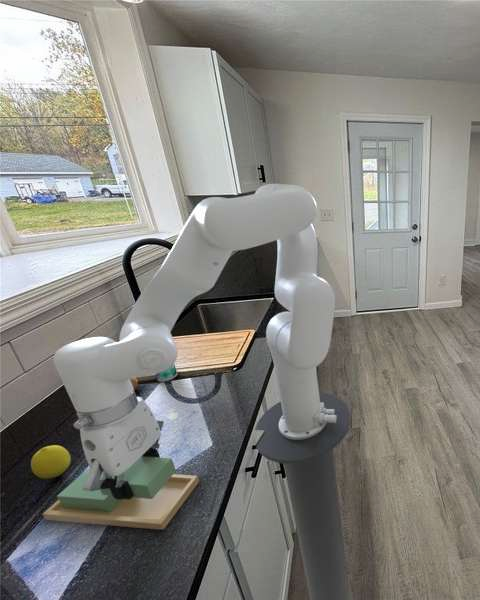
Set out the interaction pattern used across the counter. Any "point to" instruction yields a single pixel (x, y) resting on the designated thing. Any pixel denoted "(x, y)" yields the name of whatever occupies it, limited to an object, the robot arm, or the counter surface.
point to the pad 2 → (147, 476)
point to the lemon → (50, 461)
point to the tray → (134, 507)
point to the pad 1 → (86, 497)
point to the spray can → (167, 374)
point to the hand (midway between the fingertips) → (140, 480)
